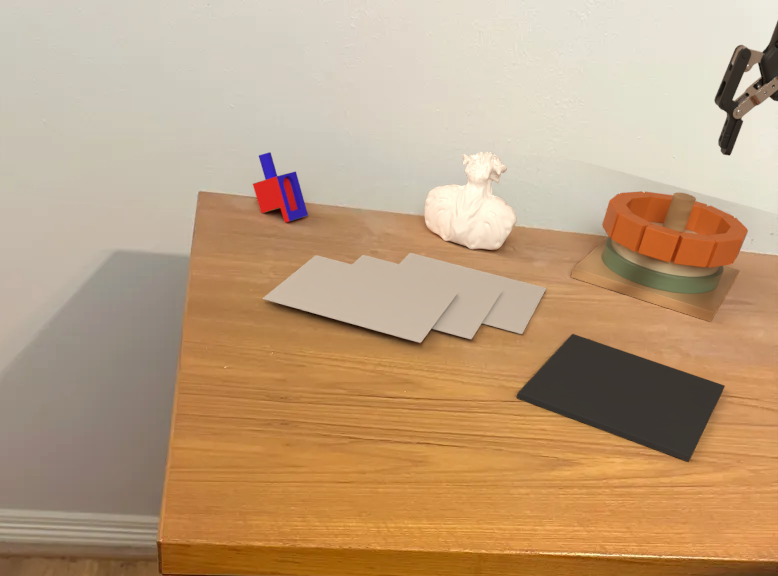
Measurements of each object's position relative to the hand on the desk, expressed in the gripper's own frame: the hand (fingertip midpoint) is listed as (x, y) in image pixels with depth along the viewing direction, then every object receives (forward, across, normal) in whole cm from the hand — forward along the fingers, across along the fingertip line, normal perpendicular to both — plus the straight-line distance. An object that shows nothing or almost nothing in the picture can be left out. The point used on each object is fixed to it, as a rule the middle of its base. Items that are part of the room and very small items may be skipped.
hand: (761, 159), depth 97 cm
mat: (+15, +15, +32) cm, 39 cm away
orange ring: (+10, +7, 0) cm, 12 cm away
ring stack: (+15, +7, 0) cm, 17 cm away
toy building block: (+16, +54, 0) cm, 57 cm away
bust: (+15, +31, -2) cm, 35 cm away
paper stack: (+15, +36, +18) cm, 43 cm away
